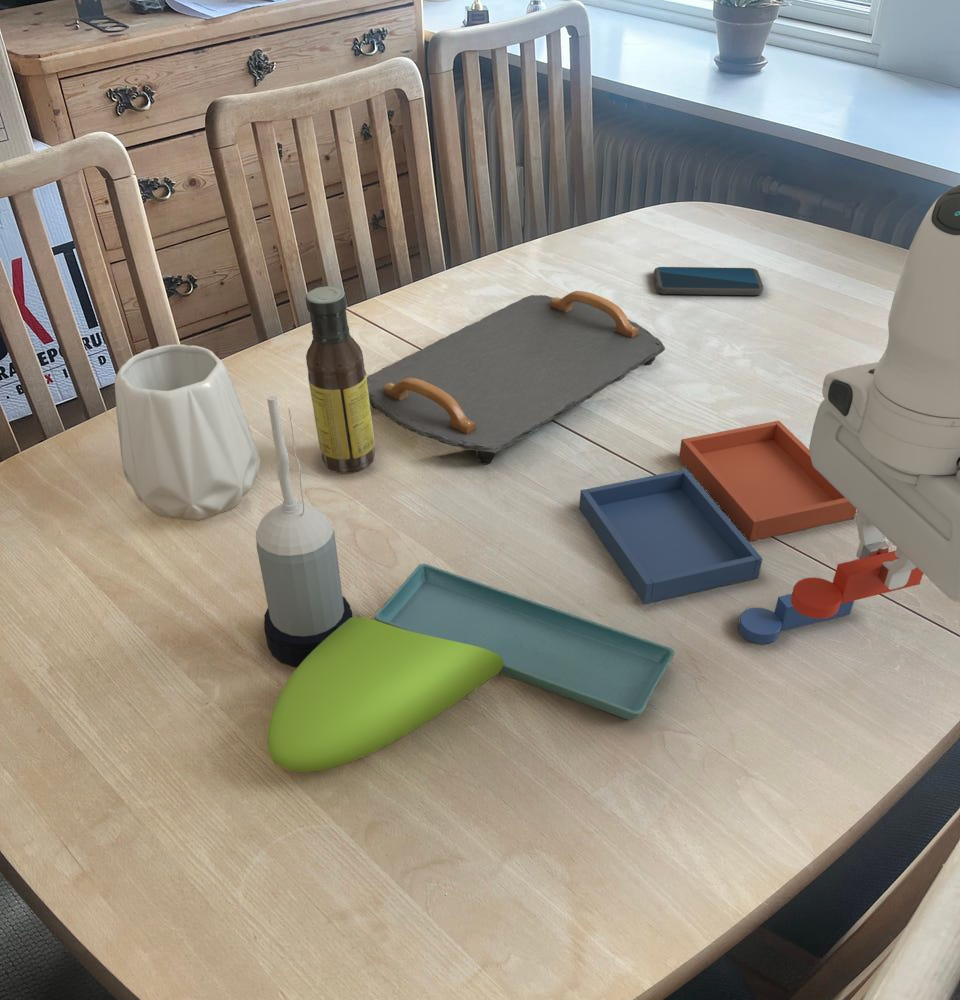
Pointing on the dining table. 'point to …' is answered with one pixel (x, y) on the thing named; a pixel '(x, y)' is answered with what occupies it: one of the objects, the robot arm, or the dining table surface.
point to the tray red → (764, 480)
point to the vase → (183, 433)
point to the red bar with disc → (845, 586)
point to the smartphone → (708, 281)
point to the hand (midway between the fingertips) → (880, 571)
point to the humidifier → (297, 567)
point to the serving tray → (512, 371)
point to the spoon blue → (778, 620)
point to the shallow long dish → (532, 640)
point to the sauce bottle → (338, 385)
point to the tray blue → (668, 536)
